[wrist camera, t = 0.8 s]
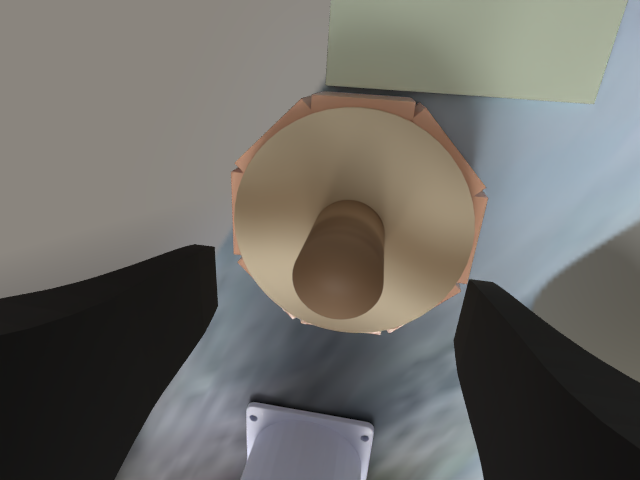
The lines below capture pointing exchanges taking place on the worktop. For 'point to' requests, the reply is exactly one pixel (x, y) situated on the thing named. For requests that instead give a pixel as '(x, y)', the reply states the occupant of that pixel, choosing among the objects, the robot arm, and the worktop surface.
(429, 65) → the mat
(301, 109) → the dish
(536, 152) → the worktop surface
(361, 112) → the lid
